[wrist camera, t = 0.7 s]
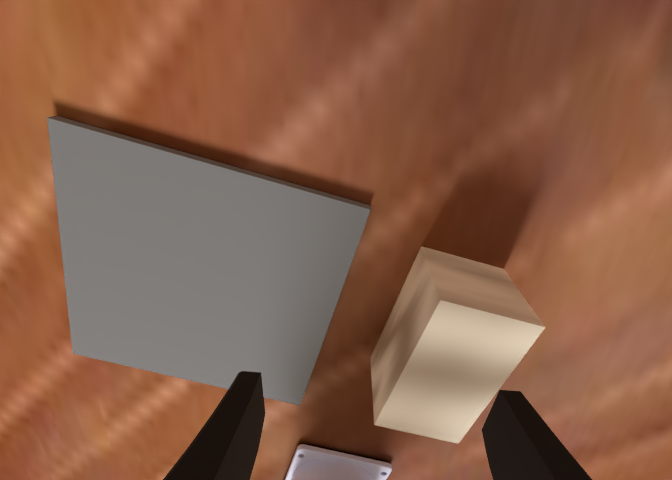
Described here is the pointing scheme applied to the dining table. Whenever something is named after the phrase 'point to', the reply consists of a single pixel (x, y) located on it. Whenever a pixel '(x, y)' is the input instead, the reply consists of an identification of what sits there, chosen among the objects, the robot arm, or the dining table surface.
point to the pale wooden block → (448, 345)
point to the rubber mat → (196, 261)
